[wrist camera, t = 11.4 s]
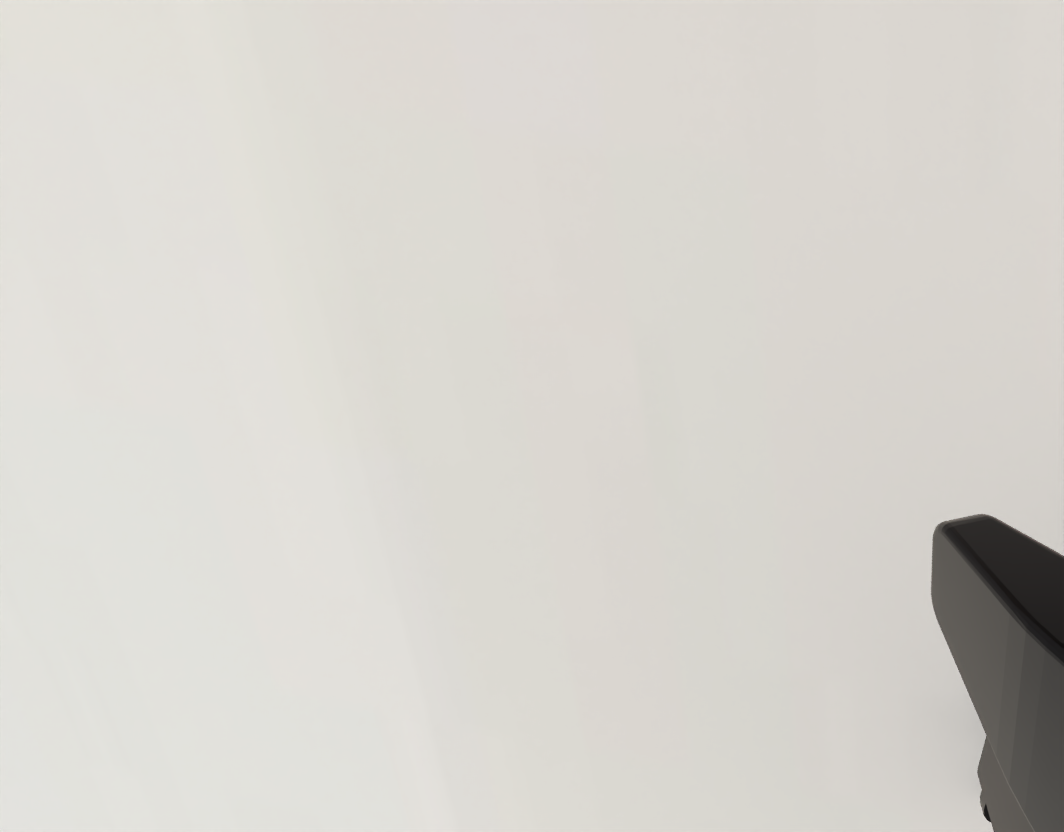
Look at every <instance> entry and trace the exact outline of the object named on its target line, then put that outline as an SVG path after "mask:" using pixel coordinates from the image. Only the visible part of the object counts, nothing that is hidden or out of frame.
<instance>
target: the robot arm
mask: <svg viewBox="0 0 1064 832" xmlns="http://www.w3.org/2000/svg"><path fill="white" fill-rule="evenodd" d="M931 596H932V603H933V608H934V612H935V615H936V618H937V620H938V623H939V625H940V628H941V630H942V632H943V635H944V637H945V639H946V642H947V644H948V646H949V649H950V651H951V653H952V656H953V658H954V660H955V663H956V665H957V667H958V670H959V672H960V674H961V677H962V679H963V681H964V684H965V686H966V688H967V691H968V693H969V695H970V698H971V700H972V702H973V705H974V707H975V709H976V712H977V714H978V716H979V719H980V721H981V723H982V726H983V728H984V730H985V733H986V735H987V736H986V740H985V744H984V747H983V751H982V755H981V759H980V762H979V766H978V777H979V780H980V784H981V788H982V792H981V795H980V803H981V807H982V810H983V814H984V816H985V818H986V819H987V820H988V821H989V822H991V823H992V827H993V830H994V832H1064V556H1063V555H1061V554H1059V553H1058V552H1056V551H1054V550H1052V549H1050V548H1049V547H1047V546H1045V545H1043V544H1041V543H1040V542H1038V541H1036V540H1034V539H1032V538H1031V537H1029V536H1027V535H1025V534H1023V533H1022V532H1020V531H1018V530H1016V529H1014V528H1013V527H1011V526H1009V525H1007V524H1006V523H1004V522H1002V521H1000V520H998V519H997V518H994V517H992V516H989V515H985V514H978V515H973V516H968V517H963V518H959V519H954V520H949V521H944V522H942V523H940V524H938V525H937V527H936V528H935V531H934V534H933V548H932V581H931Z"/></svg>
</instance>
